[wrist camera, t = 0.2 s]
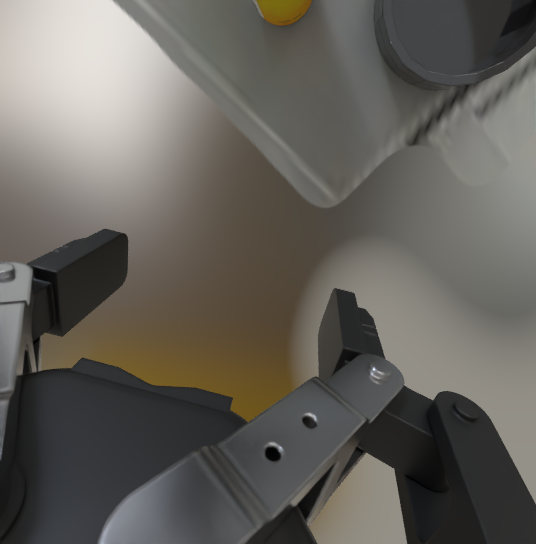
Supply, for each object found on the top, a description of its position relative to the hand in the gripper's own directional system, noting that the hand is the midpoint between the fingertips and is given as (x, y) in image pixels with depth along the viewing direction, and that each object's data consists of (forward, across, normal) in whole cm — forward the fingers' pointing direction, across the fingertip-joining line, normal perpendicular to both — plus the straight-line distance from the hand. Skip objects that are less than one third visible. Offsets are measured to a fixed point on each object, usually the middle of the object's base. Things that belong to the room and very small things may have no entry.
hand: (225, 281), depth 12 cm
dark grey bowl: (+29, -12, -19) cm, 37 cm away
